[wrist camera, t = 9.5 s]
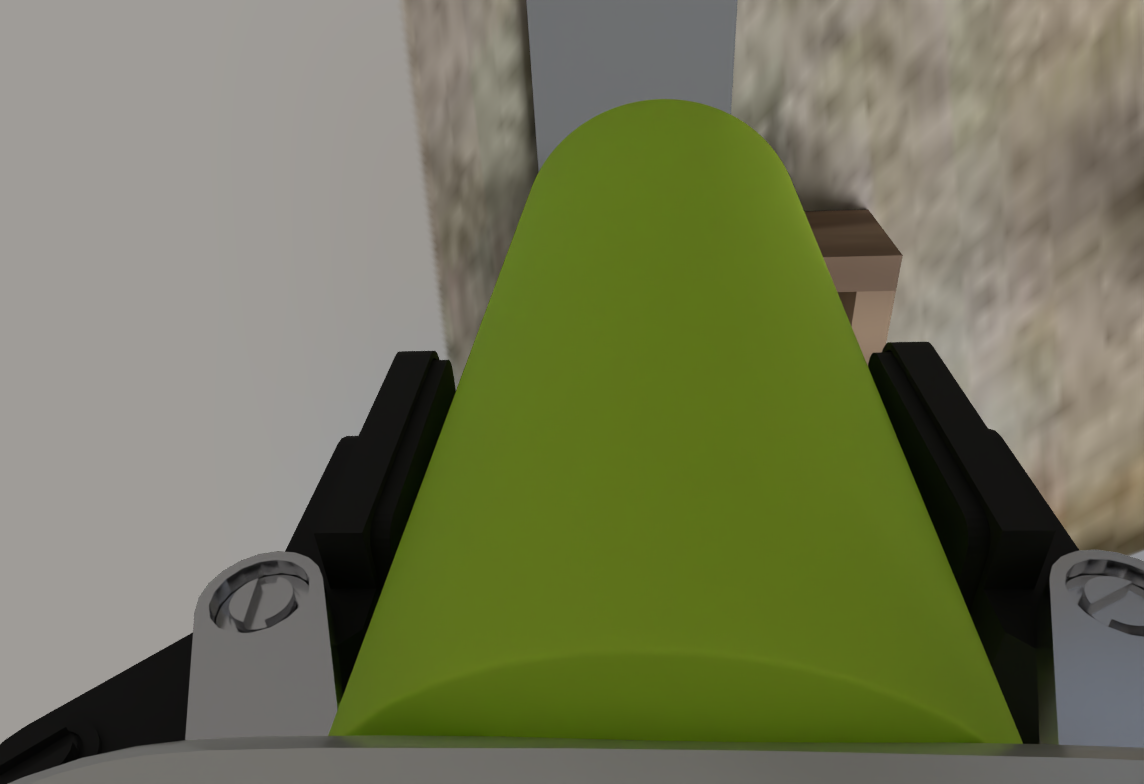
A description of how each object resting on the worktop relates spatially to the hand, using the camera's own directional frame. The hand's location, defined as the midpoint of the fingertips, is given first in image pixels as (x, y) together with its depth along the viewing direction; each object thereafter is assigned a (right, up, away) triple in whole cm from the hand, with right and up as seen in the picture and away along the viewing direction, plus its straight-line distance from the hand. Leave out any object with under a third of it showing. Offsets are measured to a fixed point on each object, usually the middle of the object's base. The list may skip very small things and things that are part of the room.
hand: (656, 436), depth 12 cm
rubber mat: (+1, +13, +20) cm, 24 cm away
